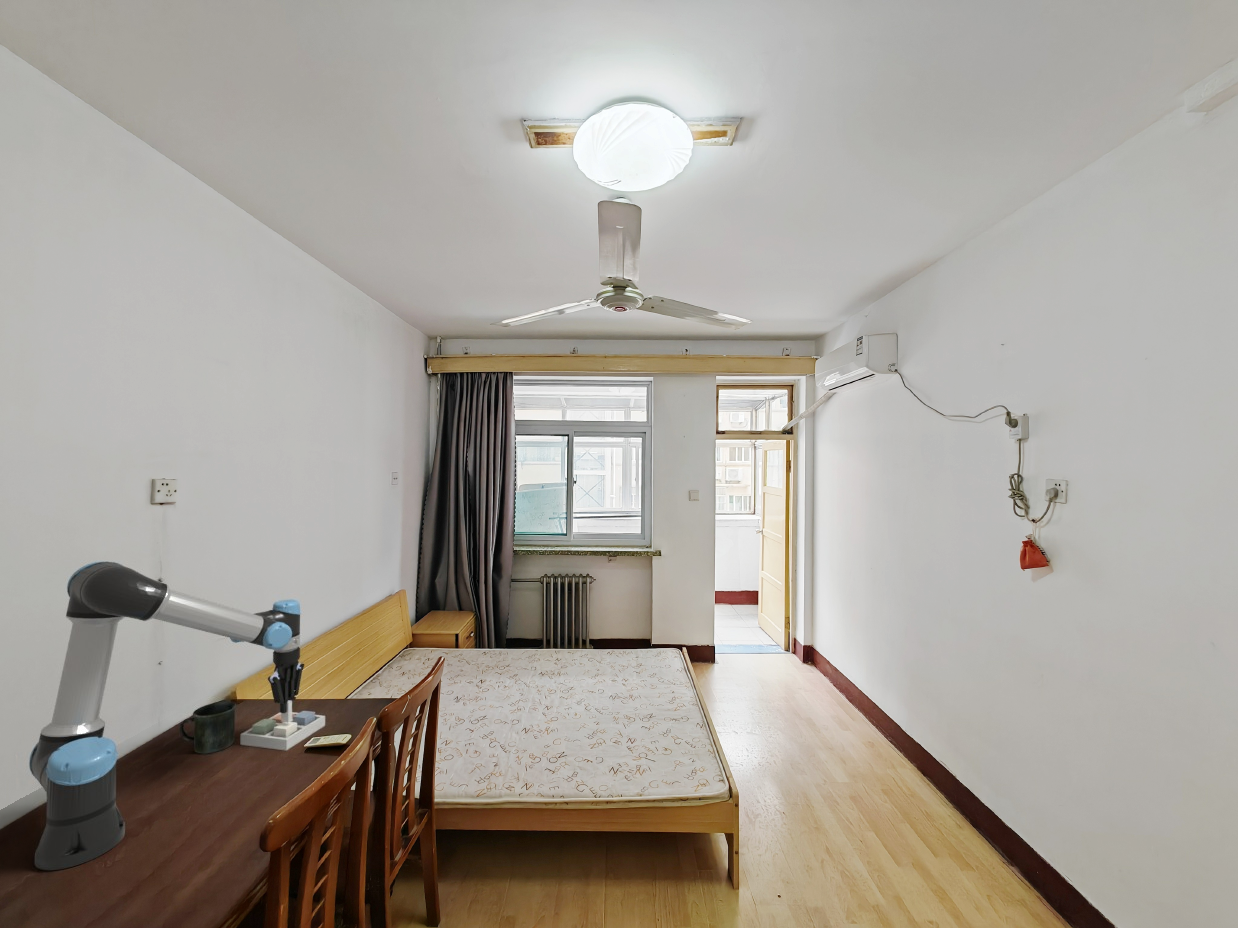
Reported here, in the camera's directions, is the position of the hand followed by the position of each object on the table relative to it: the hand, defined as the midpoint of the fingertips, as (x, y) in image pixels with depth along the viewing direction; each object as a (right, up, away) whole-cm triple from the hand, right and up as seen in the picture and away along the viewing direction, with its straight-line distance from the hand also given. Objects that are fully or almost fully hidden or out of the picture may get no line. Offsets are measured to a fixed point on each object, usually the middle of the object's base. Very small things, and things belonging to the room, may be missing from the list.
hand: (286, 720), depth 179 cm
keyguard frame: (-3, -7, +4) cm, 9 cm away
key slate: (+1, -4, +8) cm, 9 cm away
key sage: (-8, -4, +1) cm, 9 cm away
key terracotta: (-7, -6, +9) cm, 13 cm away
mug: (-22, -7, -4) cm, 24 cm away
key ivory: (0, -4, 0) cm, 4 cm away
